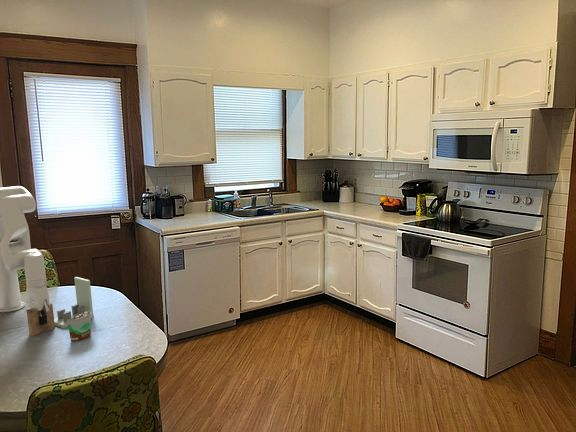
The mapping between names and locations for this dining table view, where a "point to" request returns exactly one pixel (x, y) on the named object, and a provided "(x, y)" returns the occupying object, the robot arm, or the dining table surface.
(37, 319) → the wooden block
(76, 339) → the food container
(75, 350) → the dining table surface
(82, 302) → the hinge base
